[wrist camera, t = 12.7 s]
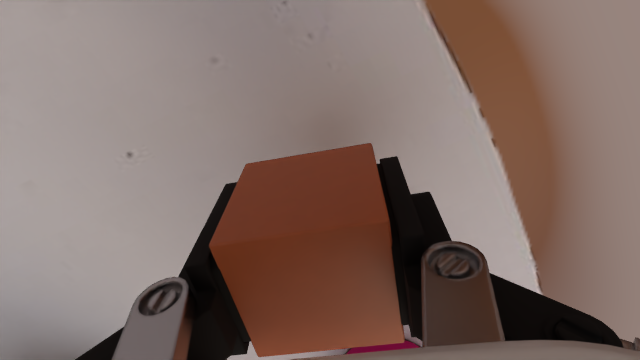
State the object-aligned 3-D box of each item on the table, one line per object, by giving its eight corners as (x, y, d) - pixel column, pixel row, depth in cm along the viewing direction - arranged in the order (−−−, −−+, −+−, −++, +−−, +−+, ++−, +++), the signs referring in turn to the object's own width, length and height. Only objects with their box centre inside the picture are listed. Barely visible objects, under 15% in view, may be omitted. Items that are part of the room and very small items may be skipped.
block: (245, 163, 11) (207, 245, 8) (371, 141, 11) (389, 219, 7) (277, 258, 13) (257, 358, 10) (385, 243, 13) (405, 343, 9)
